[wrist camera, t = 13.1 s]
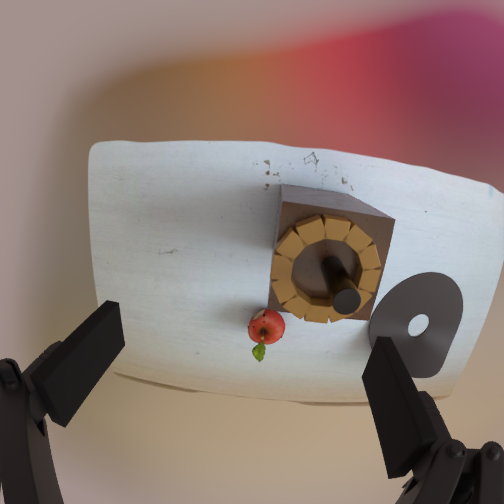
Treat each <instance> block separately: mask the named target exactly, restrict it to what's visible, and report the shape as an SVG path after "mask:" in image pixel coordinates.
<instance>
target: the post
mask: <svg viewBox="0 0 504 504" xmlns="http://www.w3.org/2000/svg"><path fill="white" fill-rule="evenodd" d="M320 270H321V273H322V276H323V279H324V282H325V285H326V288H327V291H328V294H329V297H330V300H331V303H332V306H333V308H334V310H335V311H336V312H337V313H339V314H342V315H348V314H351V313H353V312H355V311H356V310H357V309H358V308H359V306H360V304H361V296H360V294H359V292H358V290H357V288H356V286H355V284H354V283H353V281H352V279H351V277H350V275H349V274H348V272H347V270H346V268H345V267H344V265H343V263H342V261H341V260H340V259H339V258H338V257H336V256H329V257H326V258H325V259H324V260H323V261H322V263H321V265H320Z"/></svg>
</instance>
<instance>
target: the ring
mask: <svg viewBox="0 0 504 504" xmlns="http://www.w3.org/2000/svg"><path fill="white" fill-rule="evenodd" d="M295 225H296V229H297V230H296V229H295V228H293V227H292V226H291V227H290V228H289V229H288V231H287V232H286V233H285V234H284V236H283V237H282V238H281V239H280V240H279V242H278V243H277V244H276V249H274V253H273V259H272V266H271V273H270V279H271V285H272V287H273V289H274V292H275V294H276V296H277V299H278V301H279V303H282V307H283V308H285V309H286V310H288V311H289V312H291V313H292V314H293V315H295V316H296V317H298V318H299V319H302V318H303V317H304V320H305V321H310V322H319V323H327V322H328V318H330V321H331V323H332V322H335V321H338V320H341V319H343V318H346V317H349V316H352V315H353V313H351V314H348V315H342V314H339V313H337V312H336V311H335V310H334V308H333V306H332V303H331V300H330V298H327V299H324V298H316V297H309V296H308V295H307V294H305V293H304V292H303V291H301V290H300V289H299V288H297V287H296V285H295V282H294V280H293V277H292V275H291V274H292V269H293V263H294V260H295V259H296V258H297V256H298V255H299V254H300V253H301V252H302V250H303V249H304V248H305V247H306V246H307V245H310V244H313V243H315V242H318V241H321V240H323V239H330V240H337V241H343V242H345V243H346V244H347V245H348V246H349V247H351V248H352V249H353V250H354V252H355V255H356V259H357V262H358V266H357V270H356V274H355V278H354V281H353V283H354V284H355V286H356V288H357V290H358V292H359V294H360V296H361V304H360V306H359V308H358V309H357V310H356V311H355V312H356V313H357V312H358V311H359V310H360V309H361V308H362V307H363V306H364V304H365V303H366V302H367V301H368V300H369V299H370V298H371V297H372V294H371V293H370V292H375V290H376V286H377V283H378V279H379V276H380V272H381V270H380V268H379V266H381V264H380V260H379V256H378V252H377V249H376V245H375V243H374V242H373V241H372V239H371V238H370V237H369V236H368V235H367V234H366V233H365V232H364V231H363V230H362V229H360V228H359V227H358V226H357V225H356V224H355V223H354V222H352V221H351V220H350V221H349V220H348V219H347V218H344V217H338V216H332V215H326V214H323V216H322V219H321V218H320V216H319V215H315V216H313V217H310V218H308V219H305V220H302V221H300V222H297V223H295Z"/></svg>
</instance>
